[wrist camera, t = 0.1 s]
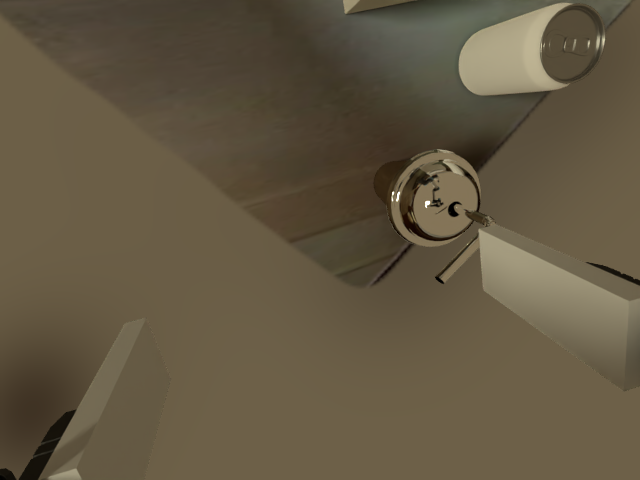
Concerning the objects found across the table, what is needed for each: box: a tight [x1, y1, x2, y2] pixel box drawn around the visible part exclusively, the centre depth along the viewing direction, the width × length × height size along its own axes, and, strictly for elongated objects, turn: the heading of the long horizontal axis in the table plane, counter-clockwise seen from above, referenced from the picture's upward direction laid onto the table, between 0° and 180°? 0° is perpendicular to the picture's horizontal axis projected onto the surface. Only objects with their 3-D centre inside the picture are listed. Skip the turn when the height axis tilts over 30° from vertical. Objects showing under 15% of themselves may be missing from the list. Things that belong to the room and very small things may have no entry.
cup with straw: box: [373, 150, 496, 284], centre depth 35 cm, size 8×9×20 cm
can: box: [459, 3, 606, 95], centre depth 37 cm, size 6×6×12 cm
